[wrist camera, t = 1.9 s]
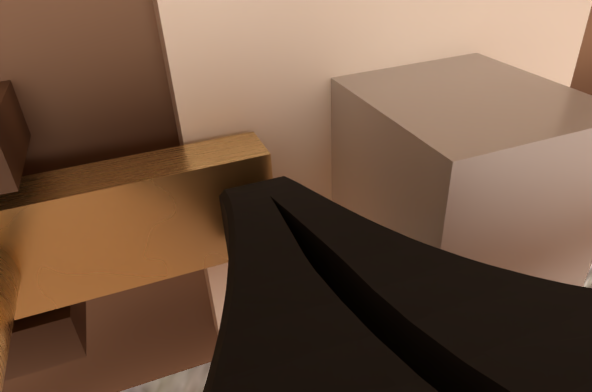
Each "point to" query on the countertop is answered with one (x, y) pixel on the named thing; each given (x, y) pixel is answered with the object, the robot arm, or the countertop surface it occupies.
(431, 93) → the cover
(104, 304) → the box base
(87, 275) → the brass bolt
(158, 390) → the countertop surface
